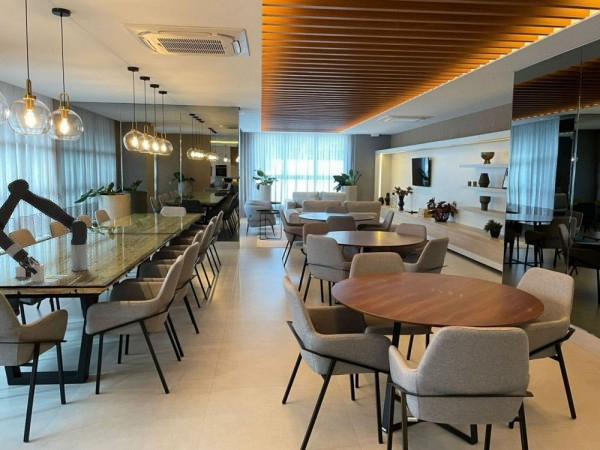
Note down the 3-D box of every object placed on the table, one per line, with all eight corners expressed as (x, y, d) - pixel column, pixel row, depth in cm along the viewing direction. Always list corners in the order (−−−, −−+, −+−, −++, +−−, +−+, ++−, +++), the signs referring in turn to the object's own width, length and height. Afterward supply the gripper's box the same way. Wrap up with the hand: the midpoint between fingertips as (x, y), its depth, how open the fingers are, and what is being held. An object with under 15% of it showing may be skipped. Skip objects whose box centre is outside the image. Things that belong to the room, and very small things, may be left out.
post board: (44, 276, 287) (44, 268, 287) (68, 276, 287) (68, 269, 287) (26, 283, 269) (26, 275, 268) (52, 284, 268) (51, 276, 268)
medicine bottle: (25, 279, 279) (25, 259, 278) (15, 278, 281) (14, 259, 279) (34, 276, 286) (34, 257, 285) (25, 275, 288) (24, 256, 286)
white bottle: (31, 281, 269) (30, 264, 268) (35, 279, 274) (34, 262, 273) (41, 281, 270) (40, 264, 269) (44, 279, 275) (43, 262, 274)
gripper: (16, 250, 262) (39, 270, 265) (26, 246, 276) (48, 264, 279) (6, 259, 262) (29, 279, 265) (17, 255, 276) (39, 273, 279)
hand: (39, 271), depth 272 cm, fingers open, 8 cm apart
